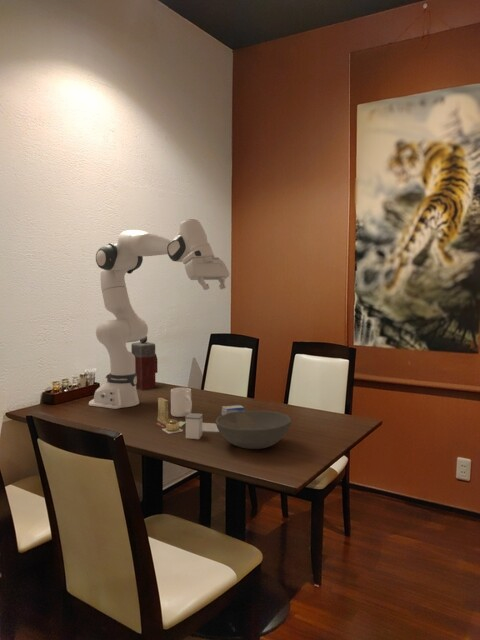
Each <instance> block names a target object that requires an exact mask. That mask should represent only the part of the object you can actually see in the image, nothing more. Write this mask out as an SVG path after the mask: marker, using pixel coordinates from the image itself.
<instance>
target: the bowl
mask: <svg viewBox="0 0 480 640" xmlns="http://www.w3.org/2000/svg"><path fill="white" fill-rule="evenodd" d="M215 424H216V425H217V428H218V430H219V434H220V435H221V436H222V438H223V439H224V440H226V441H227V442H228V443H230V444H232V445H233V446H236V447H239V448H242V449H249V450H259V449H266V448H270V447H272V446H274V445H276V444H277V443H278V442H279V441H281V440H282V439H283V438H284V437H285V436H286V434H287V433H288V431H289V429H290V427H291V424H292V418H291V416H289V415H287V414H285V413H282V412H279V411H278V412H277V411H271V410H261V409H260V410H257V409H256V410H253V409H252V410H245V411H240V412H231V413H228V414H225V415H222V414H221V415H220V416H217V418H216V419H215Z"/></svg>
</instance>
